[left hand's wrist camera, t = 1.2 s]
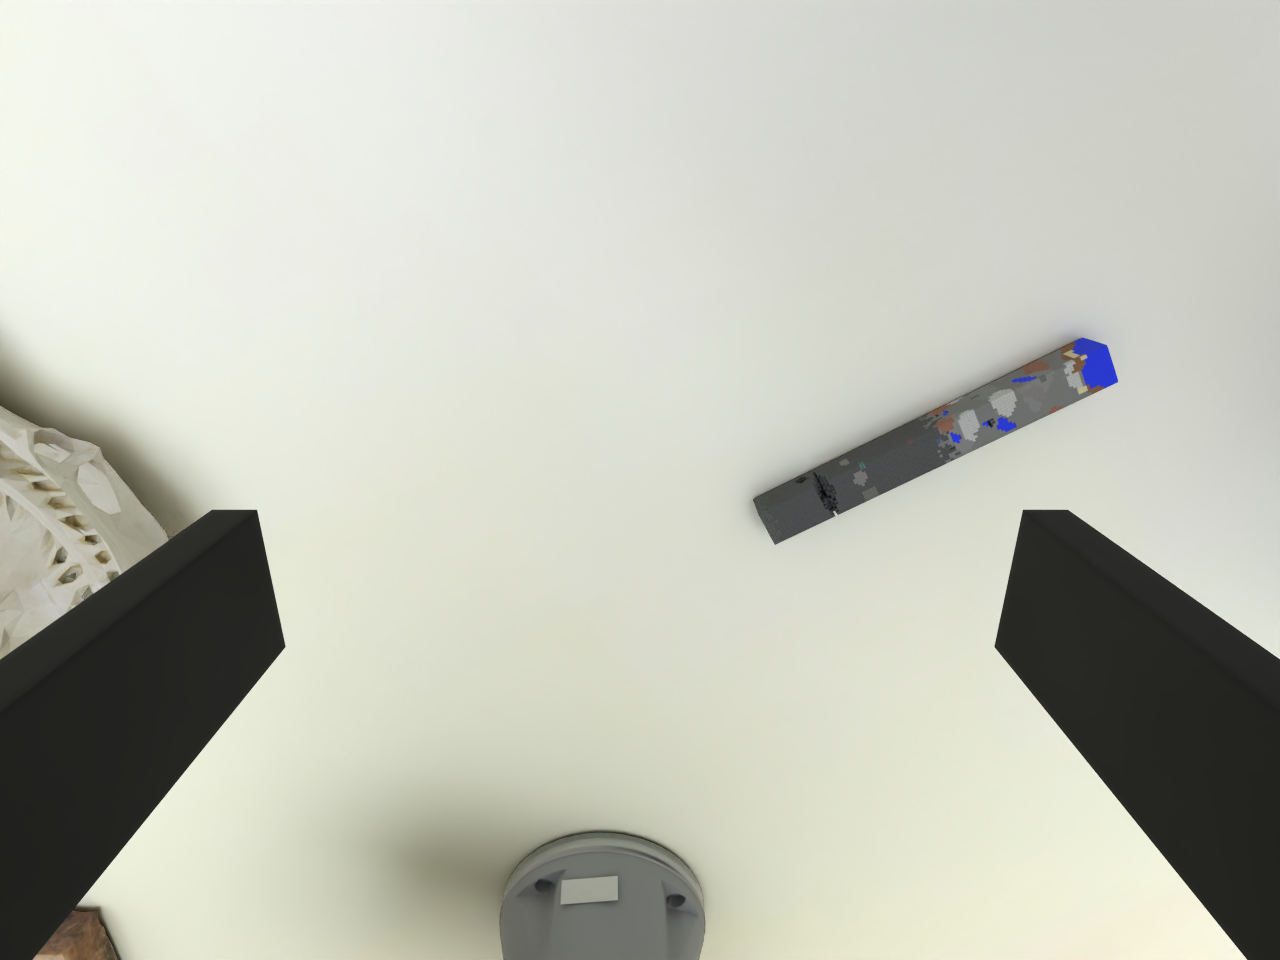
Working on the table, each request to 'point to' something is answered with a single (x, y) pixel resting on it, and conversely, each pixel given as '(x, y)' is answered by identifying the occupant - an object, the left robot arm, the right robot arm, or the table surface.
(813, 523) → the pillar
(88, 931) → the plaque
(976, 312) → the table surface
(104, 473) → the anatomical model
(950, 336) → the table surface
